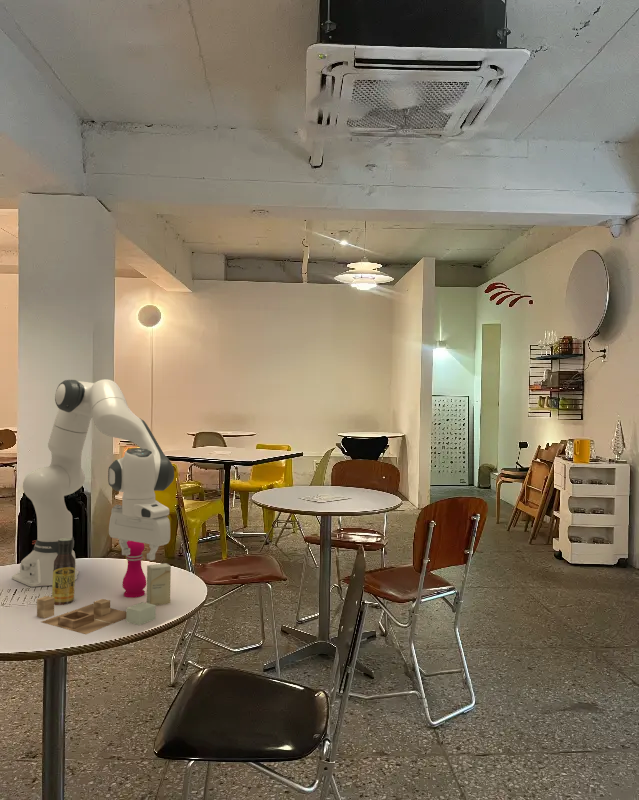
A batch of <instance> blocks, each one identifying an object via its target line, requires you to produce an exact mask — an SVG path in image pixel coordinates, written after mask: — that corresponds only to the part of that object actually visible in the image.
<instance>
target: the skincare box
mask: <svg viewBox="0 0 639 800" xmlns="http://www.w3.org/2000/svg"><path fill="white" fill-rule="evenodd" d="M171 567H172V566H171V565H170V564H169V563H167V562H166V563H157V564H150V565H149V564H148V565H146V603H149V604H153V605H156V606H161V605H169V604H171V575H172V572H171V571H172V569H171Z"/></svg>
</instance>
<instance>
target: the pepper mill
mask: <svg viewBox="0 0 639 800" xmlns="http://www.w3.org/2000/svg"><path fill="white" fill-rule="evenodd" d="M127 545H128V548H130V555H127V556H126V555H125V556H126V557H125V558H126V560H127V568H126V571H125V574H124V576H123V579H122V585H121V586H122V588H123V590H125V591H124V592H123V597H125V598H132V599H133V598H135V599H136V598H140V597H143V596H145V593H146V591H145V588H146V587H147V577H146V576H145V574H144V571H143V568H142V560H143V558H144V557H143V556H144V554H143V552H144V550H145V543H140V542H134V541H128V542H127Z"/></svg>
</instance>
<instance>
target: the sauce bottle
mask: <svg viewBox="0 0 639 800" xmlns="http://www.w3.org/2000/svg"><path fill="white" fill-rule="evenodd" d="M72 543H73V541H72V538H61V539H59V540H58V545H59V551H58V555H57V557H56V559H55V560H54V570H53V585H51V586H52V588H51V589H52V593H51V594H52V595H51V597H53V598H54V606H65V605H68V604H69V605H70V604H72V603H73V602H74V599H75V587H76V586H75V583H76V580H75V559H76V558H75V559H74V557H73V555H72Z"/></svg>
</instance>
